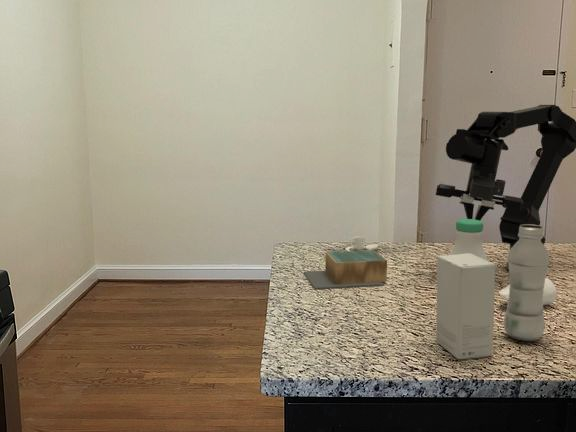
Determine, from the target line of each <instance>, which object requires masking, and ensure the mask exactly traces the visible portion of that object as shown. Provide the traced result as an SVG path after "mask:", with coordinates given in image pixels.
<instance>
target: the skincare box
mask: <svg viewBox="0 0 576 432" xmlns="http://www.w3.org/2000/svg"><path fill="white" fill-rule="evenodd" d="M436 262H437V263H436V265H437V266H436V267H437V268H436V325H435V326H436V332H435V333H436V334H435V335H436V336H435V338H436V339H435V341H436V343H438V344H439V346H441V347H442V348H444V349H445V350H446V351H447V352H449V353H450V354H451V355H452V356H454V358H455V359H458V360H467V359H468V360H469V359H470V360H471V359H478V358H485V357H491V356H493V354H494V353H493V351H494V350H493V349H494V347H493V345H494V323H495V322H494V319H495V318H494V317H495V292H496V291H495V290H496V266H497V265H496V264H495V263H493V262H491V261H489V260H488V261H487V260H484V259H482V258H480V257H477V256H475V255H473V254H471V253H466V254H456V255H449V254H447V255H438V256H437V260H436Z"/></svg>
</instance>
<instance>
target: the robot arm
mask: <svg viewBox="0 0 576 432" xmlns="http://www.w3.org/2000/svg"><path fill="white" fill-rule="evenodd" d="M535 125H537V132H539V134H540V135H541V139H540V143H541V145H540V146H541V150H542V151H541V154H540V156H539V159H538V160H537V162H536V165H535V166H534V169H533V171H532V173H531V175H530V177H529V180H528V182H527V183H526V186H525V188H524V190H523V192H522V194H521V196H520V197H516V196H511V195H505V194H504V192H505V186H506V180H505V179H504V180H503V179H496V178H497V174H498V173H497V172H498V169H499V168H498V167H499V164H500V159H501V153H502V151H508V150H509V147H508V145H507V143H506V142H505V140H504V139H503V138H507V137H508V136H511V135H513V134H514V133H515V132H516V131H517V130H518V129H521V128H527V127H531V126H535ZM445 145H446V146H445V152H446V156H447V157H448V158H449V159H450V160H454V161H457V162H463V163H467V164H471V165H470V171H469V176H468V179H467V184H466V188H465V189H466V190H463V189H462V190H461V189H457V188H456V185H449V184H444V183H439V184H438V185H436V189H435V196H439V197H443V198H451V197H455V198H459V199H460V200H459V202H458V203H459V204H461V205H463V207H464V212H465V216H466V219H474V220H479V221H482V219H483V218H484V217H485V216H486V214H487V212H489V210H495V207H494V206H495V205H498V206H501V207H502V208H504V212H503V214H502V216H501V217H500V218H499V219H500V222H499V226H498V228H499V229H498V230H499V232H500V233H499V234H500V237H501V242H502V244H507V245H509V250H510V249H511V248H512V247H513V246H514V244H515V243H516V242H517V241H518V240H519V238H520V237H518V233H519V227H520V225H525V224H530V225H539V226H541V218H540V210H541V209H540V208H541V206H542V204H543V202H544V200H545V199H546V196H547V194H548V191H549V189H550V187H551V186H552V183H553V181H554V178H555V177H556V174H557V172H558V170H559V168H560V166H561V164H562V162H563V160H564V159H566V157H568V156H570V155H571V154H572V153H573V152H574V151H575V150H576V119H574V118H573V117H571V116H570V115H568V114H567V113H566V112H564V111H563V110H562V109H561V108H560V106H558V105H556V104H539V105H537V106H533V107H528V108H523V109H518V110H513V111H481V112H479V113H478V114H477V117H476V119H475V120H474V121H473V122H472V124H471V125H470V126H469V127H468V128H467V129H465V128H457V129H456V132H455V134H453V135H452V136H451V137H450V138H449V139H448V141H447V143H446V144H445ZM474 201H477V202H480V204H478V206H477V208H476V213H475V215H474V208H475V203H473V202H474ZM541 242H542V244H543V245H545V242H546V238H545V237H544V235H543V238H542V239H541ZM505 267H506V271H507V272H509V264H508V262H507V263H506V266H505Z"/></svg>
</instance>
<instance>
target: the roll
mask: <svg viewBox="0 0 576 432" xmlns="http://www.w3.org/2000/svg"><path fill="white" fill-rule="evenodd" d="M543 290H544V291H543V306H546V305H550V304H553V303H554V302H555V301H556V299H557V296H558V291H557V288H556V286H555V284H554V283H553V282H552V281H551V279H549V278H547V277H545V284H544V289H543ZM509 292H510V283H508V285H507V286H506V287H504V288H502V289H501V290H499V291H498V292H497V293H498V295H499V296H500V297H501V298H503V300H505V301H507V302H508V299H509Z"/></svg>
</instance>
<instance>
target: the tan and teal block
mask: <svg viewBox="0 0 576 432" xmlns="http://www.w3.org/2000/svg"><path fill="white" fill-rule="evenodd" d="M324 268H325V272H326V273H327V275H328V276H329V277H330V278H331V280H332V281H333V282H334V283H335V284H354V283H372V282H382V283H385V282H386V283H387V277H388V276H387V275H388V259H386V258H385V257H383V256H382V255H380V253H379V252H377V251H376V250H366V249H364V250H362V251H358V250H350V251H346V250H343V251H341V250H340V251H326V252H325V267H324Z"/></svg>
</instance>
